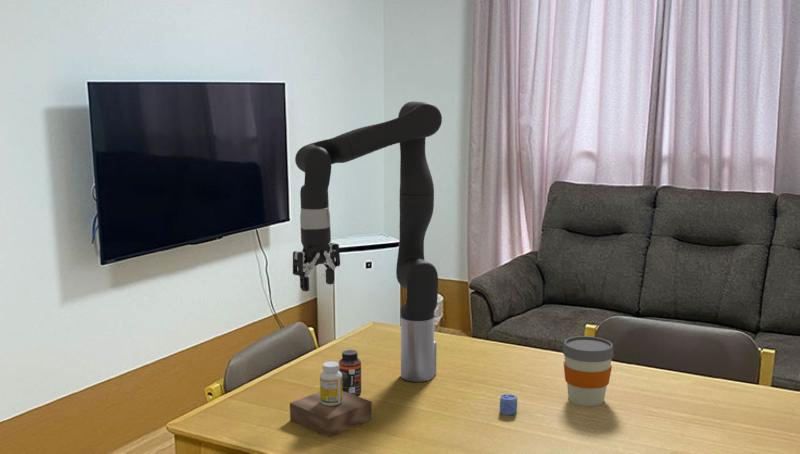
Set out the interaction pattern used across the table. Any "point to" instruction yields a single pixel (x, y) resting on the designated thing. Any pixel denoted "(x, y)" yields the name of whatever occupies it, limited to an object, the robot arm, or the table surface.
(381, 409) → the table surface
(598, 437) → the table surface
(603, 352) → the reusable coffee cup
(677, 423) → the table surface
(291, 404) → the walnut stand
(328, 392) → the supplement bottle
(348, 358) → the supplement bottle
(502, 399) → the decorative dice
